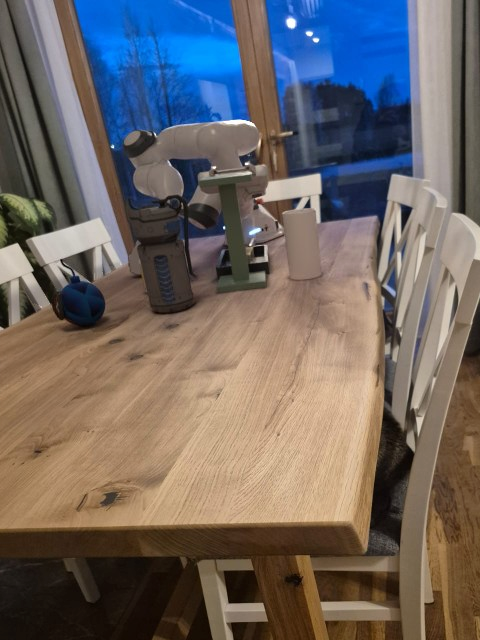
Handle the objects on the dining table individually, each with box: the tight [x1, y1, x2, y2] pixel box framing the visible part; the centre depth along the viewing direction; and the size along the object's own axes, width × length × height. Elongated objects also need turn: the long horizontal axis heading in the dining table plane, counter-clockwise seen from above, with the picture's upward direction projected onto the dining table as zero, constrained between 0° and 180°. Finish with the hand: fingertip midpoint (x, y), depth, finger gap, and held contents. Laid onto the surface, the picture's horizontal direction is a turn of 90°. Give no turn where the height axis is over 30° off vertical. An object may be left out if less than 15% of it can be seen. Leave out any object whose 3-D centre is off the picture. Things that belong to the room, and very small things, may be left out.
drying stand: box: [198, 172, 267, 294], centre depth 142 cm, size 12×12×26 cm
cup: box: [281, 207, 323, 281], centre depth 145 cm, size 8×8×16 cm
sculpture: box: [127, 239, 141, 276], centre depth 176 cm, size 11×18×12 cm
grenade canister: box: [124, 195, 198, 314], centre depth 129 cm, size 10×13×25 cm
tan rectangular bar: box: [245, 238, 257, 263], centre depth 168 cm, size 22×4×4 cm, turn 177°
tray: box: [215, 244, 271, 281], centre depth 166 cm, size 26×14×3 cm, turn 3°
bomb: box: [50, 258, 106, 327], centre depth 126 cm, size 10×11×15 cm
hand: (230, 165), depth 160 cm, fingers open, 8 cm apart
